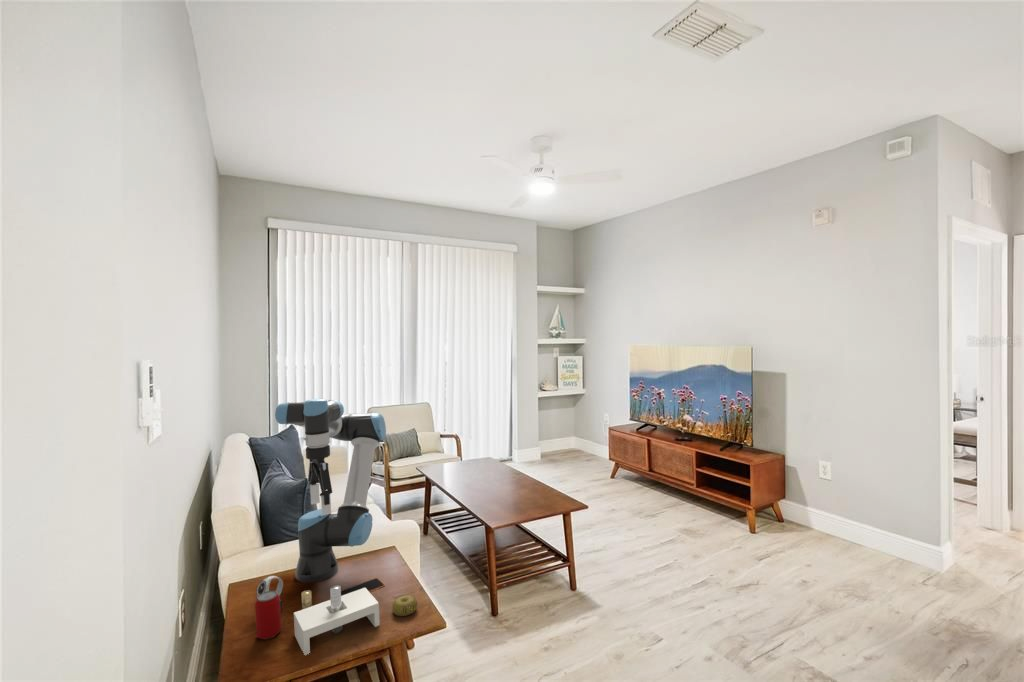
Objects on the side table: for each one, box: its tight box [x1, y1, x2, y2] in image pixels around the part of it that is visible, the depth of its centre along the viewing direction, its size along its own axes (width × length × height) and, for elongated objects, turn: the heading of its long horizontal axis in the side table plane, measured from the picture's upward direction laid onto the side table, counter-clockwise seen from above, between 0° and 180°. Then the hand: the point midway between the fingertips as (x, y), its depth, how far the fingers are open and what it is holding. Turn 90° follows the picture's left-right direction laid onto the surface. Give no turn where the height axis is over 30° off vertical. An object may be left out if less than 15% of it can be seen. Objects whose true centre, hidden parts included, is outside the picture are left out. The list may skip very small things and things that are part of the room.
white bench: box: [293, 588, 381, 656], centre depth 147 cm, size 12×22×7 cm, turn 126°
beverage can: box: [254, 590, 282, 640], centre depth 147 cm, size 7×7×12 cm
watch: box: [255, 575, 284, 612], centre depth 160 cm, size 6×8×11 cm
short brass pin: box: [300, 589, 313, 610], centre depth 157 cm, size 3×3×7 cm
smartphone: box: [341, 577, 385, 596], centre depth 170 cm, size 8×17×1 cm, turn 128°
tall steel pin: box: [329, 585, 343, 634], centre depth 147 cm, size 3×3×13 cm
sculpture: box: [391, 594, 418, 617], centre depth 156 cm, size 8×4×8 cm
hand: (320, 508), depth 161 cm, fingers open, 13 cm apart
